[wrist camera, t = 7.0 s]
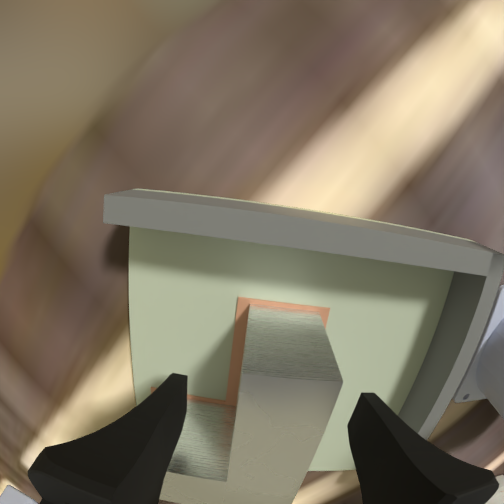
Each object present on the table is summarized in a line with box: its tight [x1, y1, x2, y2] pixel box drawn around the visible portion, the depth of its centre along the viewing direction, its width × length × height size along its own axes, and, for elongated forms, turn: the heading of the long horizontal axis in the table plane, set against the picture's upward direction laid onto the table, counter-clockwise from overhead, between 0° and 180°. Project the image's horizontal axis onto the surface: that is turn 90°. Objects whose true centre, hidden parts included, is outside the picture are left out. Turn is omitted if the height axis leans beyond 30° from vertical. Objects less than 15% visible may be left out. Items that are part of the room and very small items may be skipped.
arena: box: [103, 189, 504, 471], centre depth 13 cm, size 16×16×3 cm
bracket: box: [159, 303, 343, 504], centre depth 12 cm, size 9×7×5 cm
